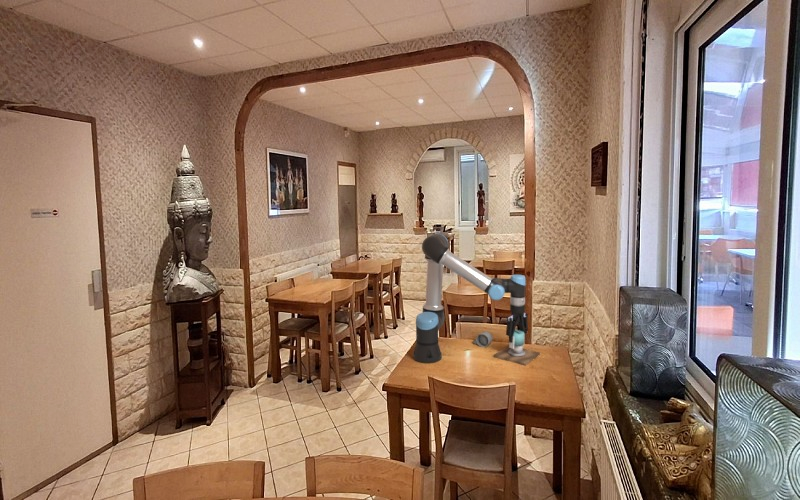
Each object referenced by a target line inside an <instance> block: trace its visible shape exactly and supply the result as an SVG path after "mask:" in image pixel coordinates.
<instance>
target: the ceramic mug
mask: <svg viewBox="0 0 800 500" xmlns="http://www.w3.org/2000/svg"><path fill="white" fill-rule="evenodd" d="M493 338H494V337H493V335H492V333H491V332H490V331H483V332H481V333H479V334H478V335H477V336H476V338H475V339H474V340H473V341H472V343H473V344H477V346H479V347H480V348H487V347H488V346H489V345H490V344H491V343H492V341H493Z"/></svg>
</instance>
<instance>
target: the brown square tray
mask: <svg viewBox="0 0 800 500" xmlns="http://www.w3.org/2000/svg"><path fill="white" fill-rule="evenodd" d="M523 347H524V346H523V345H521V346H515V345H514V349H512V348H510V347H509V344H508V345H505V347H503V348H502V349H500V350H499V351H497V352H496V353H494V354H493V355H492V357H493V358H495V359H498V360H503V361H507V362H511V363H512V364H513V363H514V364H517V365H522V366H525V367H526V366H527V365H529V364H530V363H531V362H532V361H534V360H535V359H536V358H538V357H539V356H540V355H541V352H539V351H535V350H530V349H527V348H523ZM538 355H539V356H538ZM537 356H538V357H537ZM533 359H534V360H533Z"/></svg>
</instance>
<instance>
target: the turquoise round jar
mask: <svg viewBox="0 0 800 500" xmlns="http://www.w3.org/2000/svg"><path fill="white" fill-rule="evenodd" d="M513 336H514V345H515V346H521V345H524V346H525V339H524V332H523V331H520V329H519V330H518V329H517V328H515V332H514V335H513Z"/></svg>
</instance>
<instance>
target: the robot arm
mask: <svg viewBox="0 0 800 500" xmlns="http://www.w3.org/2000/svg"><path fill="white" fill-rule="evenodd" d="M421 250H422V253H423V254H424V259H425V261H427V269H426V288H425V289H426V290H425V292H426V293H425V303H424V304H423V306H422V312H421V313H418V314H417V316H416V318H415V332H416V333H415V335H416V336H415V340H416V341H415V345H414V351H413V353H412V357H413V360H415V361H416V362H419V363H422V364H423V363H424V364H431V363H437V362H439V361H441V360H442V358H443V356H442V355H443V354H442V353H443V352H442V351H441V348H440V344H439V330H440V329H441V327H442V326H443V324H444V322H445V311H444V305H442V294H443V291H442V290H443V276H444V274H443V273H444V272H443V271H444V267H446V268H448V269H449V270H450V271H452V272H453V273H455V274H457V275H458V276H460V277H462V279H465V281H467V282H469V283H470V284H471V285H473V286H475V287H476V288H478V289H479V290H481V291H483V292H484V293H485V294H487V295H488V296H489V298H490V299H491V300H493V301H500V300H501V299H503V297H504V296H505V294H510V296H509V297H510V298H509V300H510V301H509V302H510V305H509V311H510V312H511V314H510V316H506V321H507V322H506V331H505V332H506V333H505V335H506V336H507V337H508V345H509V347H510V348H512V349H514V336H513V335H514V332H515V329H517V325H518V327H519V330H520V331H523V332H524V340H525V339H526V334H527V333H528V332H529V326H528V324H529V323H528V322H529V321H528V317H529V314H528V313H527V312H526V305H525V304H526V290H527V289H526V282H527V281H526V279H527V278H526V276H525V275H524V274H511V275H510V278H503V277H502V278H500V277H499V278H497V277H490V276H488V275H487V274H486V273H484V272H482V271H480V269H477V268H476V267H474V266H473V265H471V264H470V263H468V262H467V261H465V260H464V259H462V258H461V257H459V256H458V255H456V254H454V253H453V252H451V251H450V248H449V241H448V239H447V237H446V236H445V235H443V234H441V233H433V234H431V235H429V236H427V237H426V238H424V239H423V241H422V244H421ZM524 346H525V344H524V345H523V347H524Z"/></svg>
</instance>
